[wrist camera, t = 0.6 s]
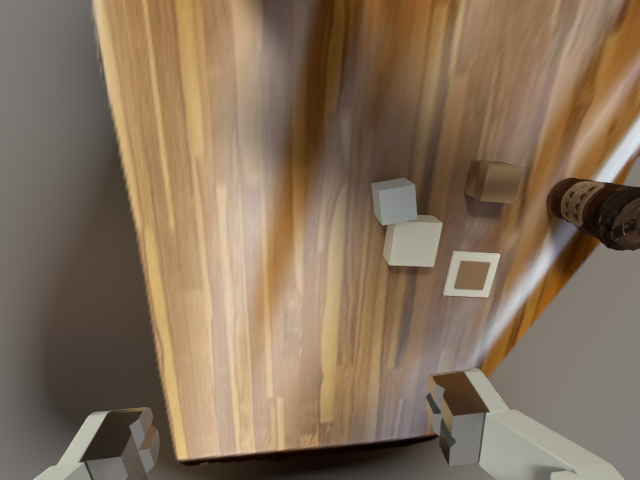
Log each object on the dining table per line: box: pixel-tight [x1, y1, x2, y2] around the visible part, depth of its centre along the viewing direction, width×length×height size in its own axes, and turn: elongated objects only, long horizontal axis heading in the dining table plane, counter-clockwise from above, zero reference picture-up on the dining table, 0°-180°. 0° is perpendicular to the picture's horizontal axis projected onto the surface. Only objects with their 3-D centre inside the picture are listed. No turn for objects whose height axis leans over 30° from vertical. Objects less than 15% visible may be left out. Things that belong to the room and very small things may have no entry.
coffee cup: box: [547, 178, 640, 251], centre depth 51 cm, size 9×8×13 cm
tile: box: [443, 251, 501, 297], centre depth 60 cm, size 8×8×1 cm
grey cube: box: [371, 178, 417, 226], centre depth 52 cm, size 5×5×5 cm
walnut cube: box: [464, 160, 523, 204], centre depth 52 cm, size 5×5×5 cm
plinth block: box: [383, 215, 443, 267], centre depth 55 cm, size 7×7×4 cm
